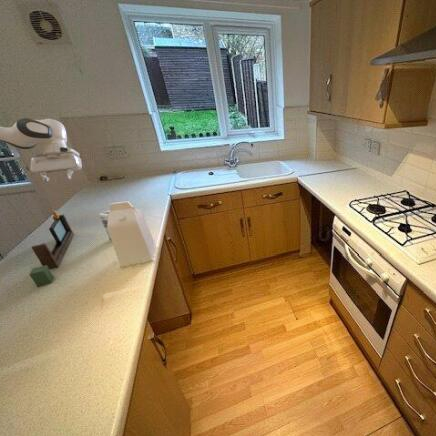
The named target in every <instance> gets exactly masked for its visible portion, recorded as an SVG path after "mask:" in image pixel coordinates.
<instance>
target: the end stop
mask: <svg viewBox="0 0 436 436" xmlns="http://www.w3.org/2000/svg"><path fill="white" fill-rule="evenodd" d="M28 275H29V277H30V278H31V279H32V281H33V282H34V284H35V285H36V287H41V286H45V285H49V284H52V283H53V280H54V278H55V276H54V274H53V273H52V271H51V270H50V269H49V268H48V266H47V265H44V266H43V265H41V266H37V267H33V268H32V269H31V270H30V272H29V274H28Z"/></svg>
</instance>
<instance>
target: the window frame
mask: <svg viewBox="0 0 436 436" xmlns="http://www.w3.org/2000/svg"><path fill="white" fill-rule="evenodd" d="M58 216H59V217H60V218H61V220H62V222H63V224H64V226H65V228H66V230H67V234H66V236H65V238H64V239H63V241H62V243H61V245H59V246H58V244H57V243H56V242H55V243H54V245H53V246H52V249H51V250H50V248H49V246H48V244H47V243H46V242H44V243H40V244H36V245H32V246H31V250H32V251H33V253H34V254H35V256H36V257H37V259H38V260H39V263H40V264H41V266H44V265H47V266H48V268H49V269H50V271H51V270H55V269H59V267H60V265H61V263H62V261H63V259H64V256H65V255H66V252H67V250H68V247H69V246H70V244H71V242H72V240H73V237H74V236H75V235H74V234H75V233H74V231H73V230H72V228H71V226H70V223H69V222H68V219H67V217H66V215H65V214H64V213H63V214H58ZM52 218H53V220H55V217H54V216H53V215H52Z"/></svg>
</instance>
